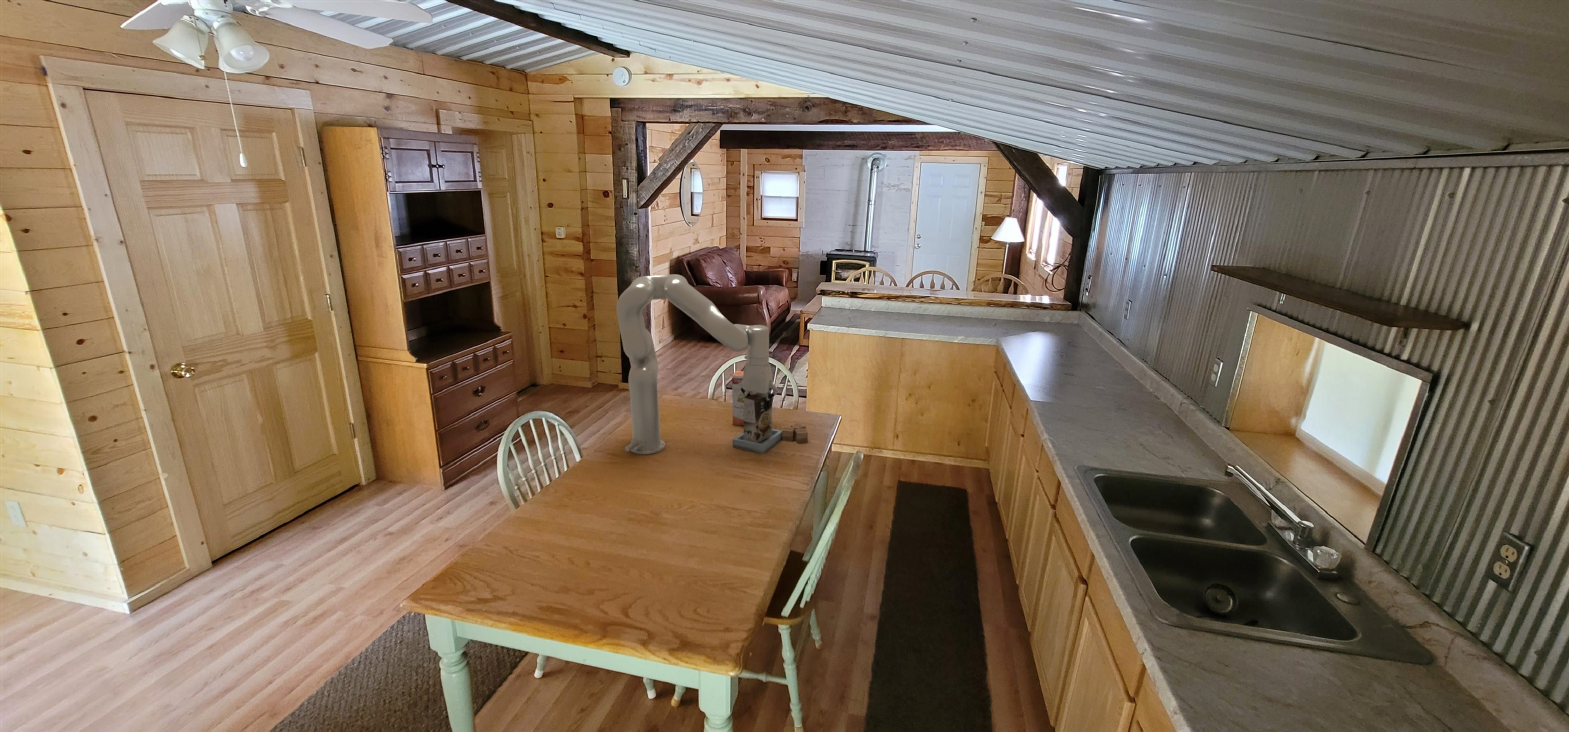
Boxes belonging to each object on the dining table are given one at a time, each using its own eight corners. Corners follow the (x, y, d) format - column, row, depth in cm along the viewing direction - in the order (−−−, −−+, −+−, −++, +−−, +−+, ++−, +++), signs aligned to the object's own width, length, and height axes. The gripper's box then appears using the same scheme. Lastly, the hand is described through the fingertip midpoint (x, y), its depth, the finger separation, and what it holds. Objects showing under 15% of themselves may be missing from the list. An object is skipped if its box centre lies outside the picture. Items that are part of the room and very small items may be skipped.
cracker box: (732, 425, 252) (731, 374, 246) (736, 419, 258) (735, 369, 252) (766, 428, 249) (767, 377, 243) (770, 423, 255) (770, 372, 249)
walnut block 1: (792, 441, 238) (792, 431, 237) (782, 440, 239) (782, 430, 238) (794, 437, 242) (794, 427, 241) (784, 436, 242) (784, 426, 241)
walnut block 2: (798, 438, 241) (798, 428, 239) (790, 435, 243) (790, 425, 242) (805, 435, 243) (805, 425, 242) (798, 432, 246) (798, 422, 245)
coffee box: (756, 443, 230) (757, 401, 226) (743, 439, 234) (743, 397, 229) (772, 436, 237) (773, 394, 233) (759, 431, 241) (759, 390, 236)
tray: (763, 453, 227) (763, 445, 226) (732, 446, 232) (732, 439, 231) (782, 438, 240) (783, 430, 239) (753, 432, 245) (753, 424, 245)
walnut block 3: (807, 442, 237) (807, 432, 236) (797, 443, 236) (797, 433, 235) (804, 438, 241) (804, 428, 240) (794, 439, 240) (794, 429, 239)
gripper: (731, 359, 228) (731, 407, 233) (775, 366, 220) (774, 415, 225) (742, 354, 234) (742, 400, 239) (785, 361, 227) (784, 408, 232)
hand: (758, 407), depth 232 cm, fingers closed on coffee box, 7 cm apart
